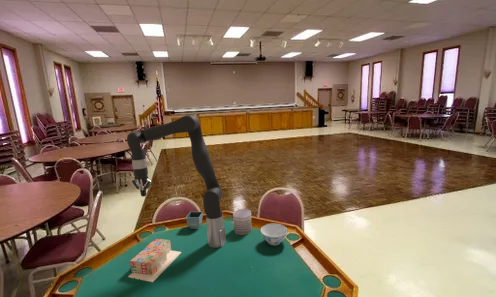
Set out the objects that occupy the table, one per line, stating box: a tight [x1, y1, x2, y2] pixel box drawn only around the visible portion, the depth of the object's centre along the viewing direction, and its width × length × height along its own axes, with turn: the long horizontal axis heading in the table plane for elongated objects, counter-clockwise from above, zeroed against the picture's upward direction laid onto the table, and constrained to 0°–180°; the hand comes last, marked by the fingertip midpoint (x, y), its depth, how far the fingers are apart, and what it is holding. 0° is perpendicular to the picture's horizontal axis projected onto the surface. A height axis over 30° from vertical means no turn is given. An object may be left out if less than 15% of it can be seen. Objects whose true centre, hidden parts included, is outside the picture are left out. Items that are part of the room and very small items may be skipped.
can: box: [232, 208, 253, 236], centre depth 160 cm, size 11×11×12 cm
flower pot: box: [185, 211, 204, 230], centre depth 167 cm, size 9×9×9 cm
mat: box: [127, 249, 182, 283], centre depth 131 cm, size 14×24×1 cm, turn 162°
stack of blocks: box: [129, 238, 172, 275], centre depth 132 cm, size 21×6×12 cm
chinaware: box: [260, 223, 288, 246], centre depth 145 cm, size 15×15×8 cm
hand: (143, 196), depth 147 cm, fingers closed
